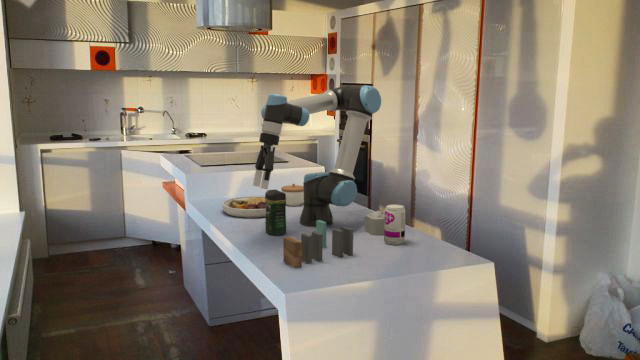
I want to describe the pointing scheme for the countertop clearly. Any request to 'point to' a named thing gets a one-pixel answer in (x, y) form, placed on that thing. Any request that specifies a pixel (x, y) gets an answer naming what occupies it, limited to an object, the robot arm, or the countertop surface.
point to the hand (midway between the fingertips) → (259, 187)
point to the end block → (292, 251)
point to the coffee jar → (275, 212)
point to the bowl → (245, 207)
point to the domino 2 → (321, 230)
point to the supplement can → (394, 224)
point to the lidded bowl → (293, 194)
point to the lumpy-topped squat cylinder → (375, 223)
